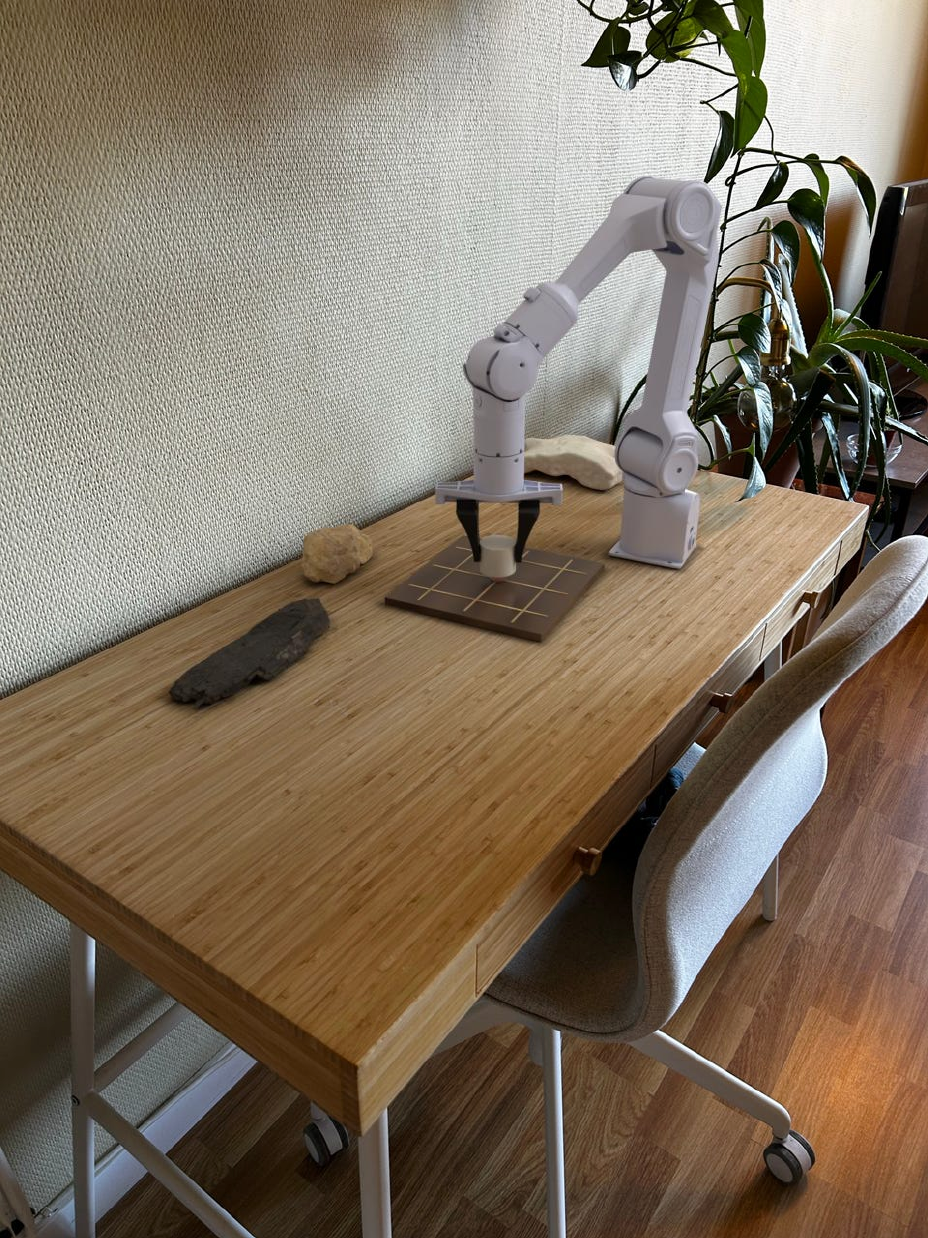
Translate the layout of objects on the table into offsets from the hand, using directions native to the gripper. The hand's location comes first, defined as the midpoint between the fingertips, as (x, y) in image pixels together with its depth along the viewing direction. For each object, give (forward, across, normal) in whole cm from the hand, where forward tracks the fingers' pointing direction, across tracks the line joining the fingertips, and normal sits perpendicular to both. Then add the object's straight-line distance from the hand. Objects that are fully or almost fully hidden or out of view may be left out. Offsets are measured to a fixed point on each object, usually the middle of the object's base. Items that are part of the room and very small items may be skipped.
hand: (498, 558), depth 109 cm
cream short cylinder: (+1, 0, 0) cm, 1 cm away
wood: (+4, +24, +18) cm, 30 cm away
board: (+4, 0, 0) cm, 4 cm away
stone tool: (+4, +20, -5) cm, 21 cm away
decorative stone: (+4, -10, -42) cm, 44 cm away
